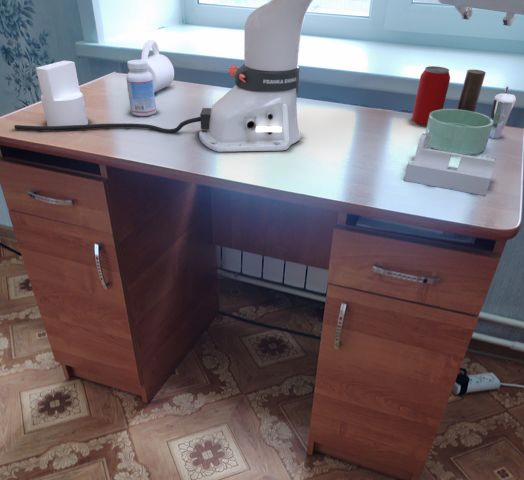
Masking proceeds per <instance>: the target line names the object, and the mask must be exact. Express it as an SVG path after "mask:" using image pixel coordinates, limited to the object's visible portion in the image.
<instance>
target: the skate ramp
mask: <svg viewBox="0 0 524 480" xmlns="http://www.w3.org/2000/svg"><path fill="white" fill-rule="evenodd" d="M431 136H432V135H430V134H425V133H423V132H422V134H420V137H419V141H418V143H417V148H416V151H415V155H414V159H413V162H410V160H408V162H407V164H406V168H405V172H404V177H403V181H405V182H409V183H415V184H420V185H427V186H430V187H431V186H432V187H437V188H441V189H442V188H443V189H447V190H453V191H457V192H463V193H467V194H468V193H469V194H474V195H478V196H479V195H480V196H484V197H486V196H487V193H488V190H489V187H490V184H491V181H492V174H493V170H494V166H495V164H496V161H497V160H496V159H497V158H495V159H494V156H493V155H492V154H485V153H481V152H479V153H476V154H473V155H466V154H467V153H466V154H465V155H463V154H457V153H451V151H449V152H445V151H439V150H435V149H432V148H433V147H431V148H430V147H429V145H430V141H431ZM430 146H432V145H430ZM434 147H435V146H434ZM437 147H438V146H437ZM443 148H444V147H443ZM438 149H440V148H438ZM445 149H446V148H445ZM445 149H444V150H445ZM449 149H450V148H449ZM455 151H456V149H455ZM456 152H457V151H456ZM461 152H462V151H461ZM461 152H460V153H461ZM467 152H468V151H467ZM462 153H463V152H462ZM473 153H474V152H473ZM468 154H469V153H468ZM471 154H472V153H471ZM485 155H487V156H485ZM452 156H456V157H460V159H459V162H458V166H457V167H455V168H452V167H451V166H449V165H450V161H451V157H452ZM484 156H485V157H484ZM489 157H491V158H489Z"/></svg>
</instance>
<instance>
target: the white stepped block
mask: <svg viewBox="0 0 524 480" xmlns="http://www.w3.org/2000/svg"><path fill="white" fill-rule="evenodd" d="M35 71H36V75H37V79H38V84H39V88H40V93H41V95H40V100H41V104H42V110H43V113H44V117H45V123H46V126H71V125H89V119H88V112H87V109H86V102H85V98H84V94H83V93H82V92H81V89H80V84H79V79H78V74H77V69H76V63H75V61H71V60H61V61H57V62H53V63H49V64H45V65H41V66H38V67H35Z"/></svg>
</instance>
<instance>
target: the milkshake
mask: <svg viewBox="0 0 524 480" xmlns="http://www.w3.org/2000/svg"><path fill="white" fill-rule="evenodd" d="M508 91H509V86H508V85H506V86H505V89H504V93H498V94H496V95H495V96H494V97H493V102H492V108H491V112H490V116H489V117H490V118H491V119H492V120H493V126H492V129H491V133H490V136H489V138H492V139H501V138H502V135H503V132H504V129H505V127H506V125H507V122H508V120H509V117H510V114H511V112H512V110H513V108H514V106H515V104H516V101H517V97H516V95H515V94H511V93H508Z"/></svg>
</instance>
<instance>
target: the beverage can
mask: <svg viewBox="0 0 524 480" xmlns="http://www.w3.org/2000/svg"><path fill="white" fill-rule="evenodd" d="M450 81H451V76H450V69H449V68H447V67H444V66H438V65H437V66H435V65H434V66H433V65H432V66H430V65H429V66H426V67H425V68H424V70H423V72H422V73H421V74H420V76H419V81H418V85H417V91H416V96H415V100H414V106H413V111H412V116H411V120H412V121H413V122H414V124H415V125H417V126H420V127H427V123H428V119H429V115H430V113H431V112H432V111H435V110H439V109H444V106H445V103H446V98H447V94H448V89H449V86H450Z"/></svg>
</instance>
